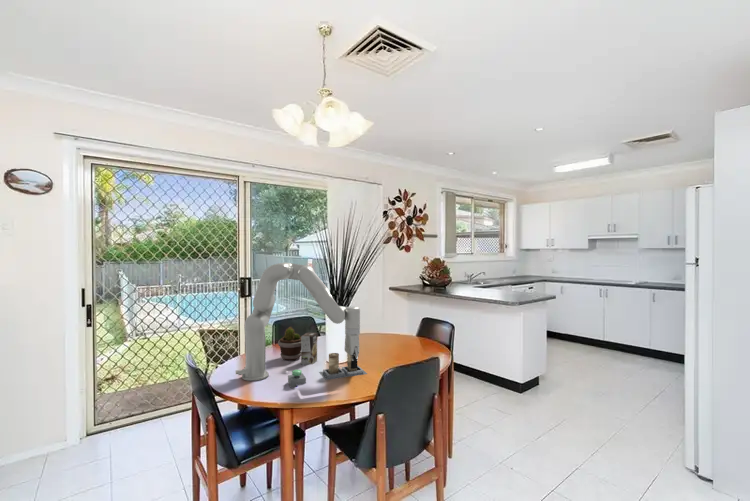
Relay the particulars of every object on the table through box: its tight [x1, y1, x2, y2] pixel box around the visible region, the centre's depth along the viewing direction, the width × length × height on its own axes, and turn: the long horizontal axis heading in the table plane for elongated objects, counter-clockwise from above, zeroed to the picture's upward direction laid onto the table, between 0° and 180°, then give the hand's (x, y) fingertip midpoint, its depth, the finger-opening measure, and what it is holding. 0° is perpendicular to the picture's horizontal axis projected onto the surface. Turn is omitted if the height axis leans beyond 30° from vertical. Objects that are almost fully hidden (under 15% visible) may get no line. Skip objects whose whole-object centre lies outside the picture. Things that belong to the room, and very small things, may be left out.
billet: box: [347, 353, 357, 371], centre depth 185 cm, size 5×5×10 cm
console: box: [287, 373, 307, 389], centre depth 171 cm, size 7×7×4 cm
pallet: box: [318, 364, 368, 381], centre depth 183 cm, size 22×12×3 cm, turn 113°
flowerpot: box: [277, 326, 301, 362], centre depth 212 cm, size 14×15×20 cm
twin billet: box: [328, 352, 340, 374], centre depth 181 cm, size 5×5×10 cm
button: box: [291, 369, 303, 378], centre depth 171 cm, size 4×4×4 cm
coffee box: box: [300, 332, 318, 366], centre depth 204 cm, size 9×6×16 cm
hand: (352, 366), depth 185 cm, fingers closed on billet, 4 cm apart
